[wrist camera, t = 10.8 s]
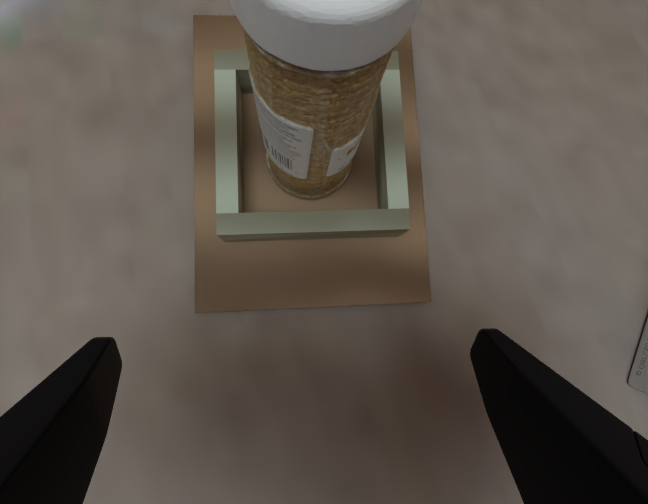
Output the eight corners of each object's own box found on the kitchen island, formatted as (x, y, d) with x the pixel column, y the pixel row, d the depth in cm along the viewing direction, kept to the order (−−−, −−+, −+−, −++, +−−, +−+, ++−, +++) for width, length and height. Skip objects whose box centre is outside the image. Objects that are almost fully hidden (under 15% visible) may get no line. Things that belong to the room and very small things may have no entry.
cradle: (428, 301, 21) (447, 302, 18) (197, 312, 20) (182, 314, 17) (407, 22, 23) (422, -13, 20) (195, 20, 22) (182, -17, 19)
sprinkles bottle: (361, 187, 21) (482, -15, 7) (278, 211, 20) (247, 38, 7) (336, 108, 21) (406, -217, 8) (254, 129, 21) (181, -179, 7)
